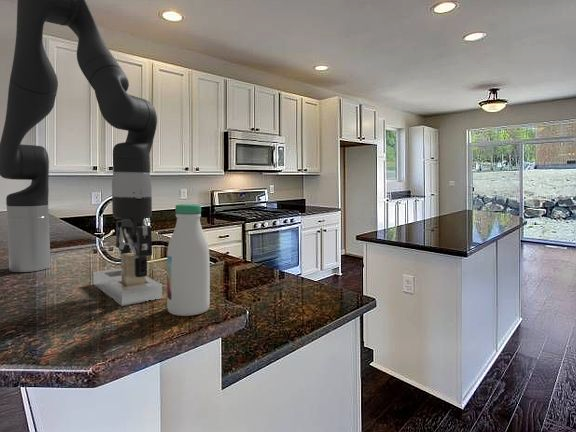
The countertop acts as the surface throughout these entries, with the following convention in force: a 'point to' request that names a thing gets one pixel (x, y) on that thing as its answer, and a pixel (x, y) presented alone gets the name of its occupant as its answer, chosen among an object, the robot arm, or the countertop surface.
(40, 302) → the countertop surface
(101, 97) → the robot arm
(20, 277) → the countertop surface
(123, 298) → the white slotted block
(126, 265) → the beech peg
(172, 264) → the milk bottle
